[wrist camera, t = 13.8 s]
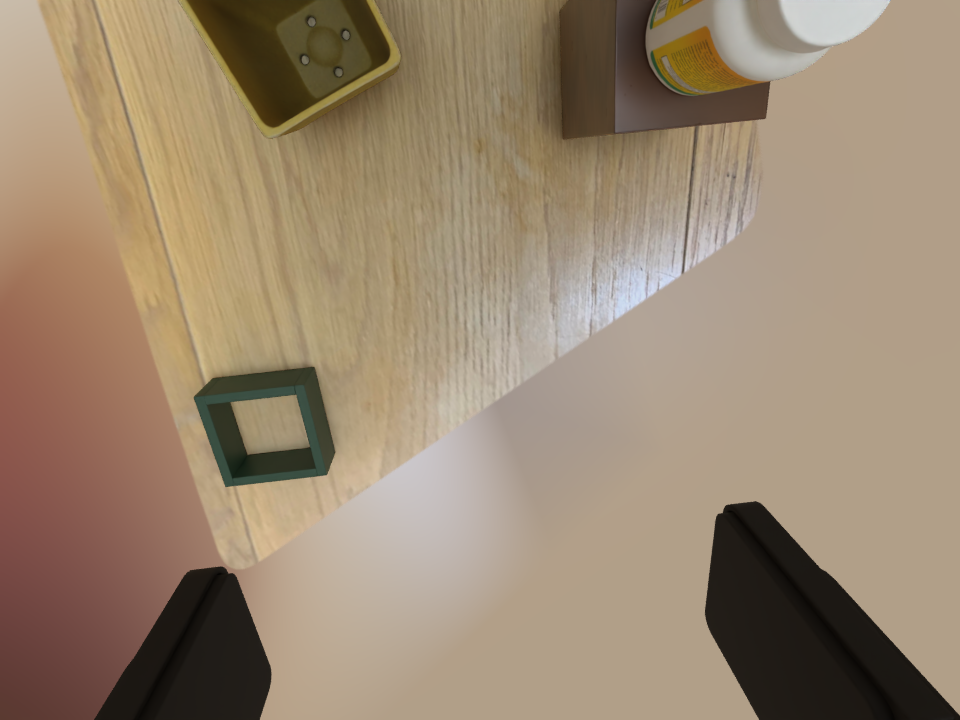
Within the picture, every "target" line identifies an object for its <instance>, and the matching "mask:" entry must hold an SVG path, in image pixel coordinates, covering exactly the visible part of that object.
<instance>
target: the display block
mask: <svg viewBox="0 0 960 720" xmlns="http://www.w3.org/2000/svg"><path fill="white" fill-rule="evenodd" d="M655 2H656V0H568V1H567V2H566V4H565V5H564V6H563V7H562V9H561V10H560V45H561V85H562V125H563V139H574V138H584V137H594V136H604V135H614V134H624V133H634V132H644V131H654V130H664V129H673V128H683V127H692V126H702V125H712V124H721V123H731V122H740V121H750V120H759V119H765V118H766V113H767V105H768V96H769V88H770V81H769V82H764V83H758V84H753V85H748V86H744V87H739V88H734V89H730V90H725V91H720V92H714V93H710V94H704V95H697V96H689V95H682V94H679V93H676V92H674V91H672V90H670V89H669V88H667V87H666V86H665V85H664V84H663V83H662V82H661V81H660V80H659V79H658V77H657V76H656V75H655V73H654V72H653V70H652V68H651V66H650V64H649V61H648V57H647V52H646V29H647V24H648V19H649V16H650V13H651V10H652V8H653V6H654V4H655Z"/></svg>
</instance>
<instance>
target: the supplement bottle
mask: <svg viewBox="0 0 960 720" xmlns="http://www.w3.org/2000/svg"><path fill="white" fill-rule="evenodd" d="M890 1H891V0H656V2H655V4H654V6H653V8H652V10H651V13H650V16H649V19H648V24H647V29H646V52H647V57H648V61H649V64H650V66H651V68H652V70H653V72H654V73H655V75H656V76H657V77H658V79H659V80H660V81H661V82H662V83H663V84H664V85H665V86H666V87H667V88H669V89H670V90H672V91H674V92H676V93H679V94H682V95H689V96H697V95H704V94H710V93H714V92H720V91H725V90H730V89H734V88H739V87H744V86H748V85H753V84H758V83H764V82H769V81H774V80H779V79H782V78H786V77H789V76H792V75H794V74H796V73H798V72H800V71H802V70H804V69H806V68H807V67H809V66H810V65H812V64H813V63H814V62H816V61H817V60H818V59H820V58H821V57H822V56H823V55H824V54H825V53H826V52H827V51H828V50H829V49H830V48H831V47H832V46H836V45H839V44H841V43H844V42H847V41H849V40H851V39H852V38H854V37H856V36H857V35H859V34H860V33H862V32H863V31H865V30H866V29H867V28H868V27H869V26H871V25H872V24H873V23H874V22H875V21H876V20H877V18H878V17H879V16H880V15H881V14H882V12H883V11H884V10H885V8H886V7H887V5H888V4H889V2H890Z"/></svg>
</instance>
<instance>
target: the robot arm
mask: <svg viewBox="0 0 960 720" xmlns="http://www.w3.org/2000/svg"><path fill="white" fill-rule="evenodd" d="M705 616H706V621H707V625H708V628H709V630H710V632H711V634H712V636H713V638H714V639H715V641H716V643H717V645H718V647H719V648H720V650H721V652H722V654H723V656H724V657H725V659H726V661H727V663H728V665H729V666H730V668H731V670H732V672H733V673H734V675H735V677H736V679H737V681H738V682H739V684H740V686H741V688H742V689H743V691H744V693H745V695H746V697H747V699H748V700H749V702H750V704H751V706H752V707H753V709H754V711H755V713H756V715H757V717H758V718H759V720H960V715H959V714H958V713H957V712H956V711H955V710H954V709H953V708H952V707H951V706H950V705H949V703H948V702H947V701H946V700H945V699H944V698H943V697H942V696H941V695H940V694H939V693H938V691H937V690H936V689H935V688H934V687H933V686H932V685H931V684H930V683H929V682H928V681H927V679H926V678H925V677H924V676H923V675H922V674H921V673H920V672H919V671H918V670H917V669H916V667H915V666H914V665H913V664H912V663H911V662H910V661H909V660H908V659H907V658H906V657H905V655H904V654H903V653H902V652H901V651H900V650H899V649H898V648H897V647H896V646H895V645H894V643H893V642H892V641H891V640H890V639H889V638H888V637H887V636H886V635H885V634H884V633H883V631H882V630H881V629H880V628H879V627H878V626H877V625H876V624H875V623H874V622H873V621H872V619H871V618H870V617H869V616H868V615H867V614H866V613H865V612H864V611H863V610H862V609H861V608H860V606H858V604H857V603H856V602H855V601H854V600H853V599H852V598H851V597H850V596H849V594H848V593H847V592H846V591H845V590H844V589H843V588H842V587H841V586H840V585H839V584H838V582H837V581H836V580H835V579H834V578H833V577H832V576H830V575H829V574H828V573H827V572H826V571H824V570H822V569H820V568H819V566H818V565H816V563H815V562H814V561H813V560H812V559H811V558H810V557H809V556H808V554H807V553H806V552H805V551H804V550H803V549H802V548H801V547H800V545H799V544H798V543H797V542H796V541H795V540H794V539H793V538H792V537H791V536H790V534H789V533H788V532H787V531H786V530H785V529H784V528H783V527H782V526H781V525H780V523H779V522H778V521H777V520H776V519H775V518H774V517H773V516H772V515H771V514H770V512H769V511H768V510H767V509H766V508H765V507H764V506H763V505H762V504H761V503H759V502H756V501H755V502H747V503H738V504H730V505H726V506H725V508H724V510H723V513H721V514H718V515H717V517H716V521H715V530H714V539H713V547H712V556H711V564H710V573H709V581H708V590H707V599H706V607H705ZM270 684H271V667H270V664H269V662H268V659H267V656H266V654H265V651H264V648H263V646H262V643H261V640H260V638H259V635H258V632H257V630H256V627H255V624H254V622H253V619H252V617H251V614H250V611H249V609H248V606H247V603H246V601H245V598H244V595H243V593H242V590H241V588H240V585H239V582H238V580H237V577H236V576H235V575H234V574H233V573H230V574H228V572H227V570H226V569H225V568H224V567H213V568H205V569H196V570H190V571H189V572H187V573H186V575H185V576H184V577H183V579H182V580H181V582H180V584H179V585H178V587H177V588H176V590H175V592H174V593H173V595H172V597H171V598H170V600H169V601H168V603H167V605H166V606H165V608H164V610H163V611H162V613H161V615H160V616H159V618H158V619H157V621H156V623H155V625H154V626H153V628H152V629H151V631H150V633H149V634H148V636H147V638H146V639H145V641H144V642H143V644H142V646H141V647H140V649H139V650H138V652H137V654H136V656H135V657H134V659H133V660H132V661H131V662H130V664H129V665H128V666H127V668H126V669H125V671H124V672H123V674H122V675H121V677H120V679H119V680H118V682H117V683H116V685H115V687H114V688H113V690H112V692H111V693H110V695H109V697H108V698H107V700H106V701H105V703H104V705H103V706H102V708H101V710H100V711H99V713H98V714H97V716H96V718H95V719H94V720H260V717H261V714H262V711H263V707H264V704H265V701H266V698H267V695H268V692H269V689H270Z"/></svg>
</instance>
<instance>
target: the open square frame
mask: <svg viewBox="0 0 960 720" xmlns="http://www.w3.org/2000/svg"><path fill="white" fill-rule="evenodd" d="M288 395H297V399H298V403H299V406H300V410H301V414H302V418H303V422H304V425H305V429H306V433H307V437H308V440H309V444H310V448H306V449H298V450H289V451H280V452H272V453H263V454H255V455H247V454H246V451H245V448H244V445H243V442H242V438H241V435H240V432H239V429H238V426H237V423H236V420H235V417H234V414H233V411H232V408H231V405H230V402H235V401H244V400H253V399H261V398H270V397H279V396H288ZM194 400H195V403H196V405H197V408H198V411H199V414H200V417H201V419H202V422H203V425H204V428H205V431H206V433H207V436H208V439H209V442H210V445H211V447H212V450H213V453H214V456H215V459H216V461H217V464H218V467H219V470H220V473H221V475H222V478H223V481H224V484H225V487H230V486H239V485H247V484H256V483H264V482H273V481H281V480H290V479H298V478H307V477H315V476H323V475H327V474H328V471H329V468H330V465H331V463H332V460H333V457H334V454H335V450H334V445H333V441H332V437H331V433H330V429H329V425H328V421H327V417H326V413H325V409H324V404H323V400H322V396H321V392H320V388H319V384H318V380H317V376H316V372H315V368H314V367H311V368H302V369H293V370H284V371H275V372H266V373H257V374H248V375H239V376H230V377H222V378H213V379H212V380H211V381H210V382H209V383H208V384H206V385H205V386H204V387H203V388H202V389H201V390H200V391H199V392H198V393H197V394H196V395H195V396H194Z"/></svg>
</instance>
